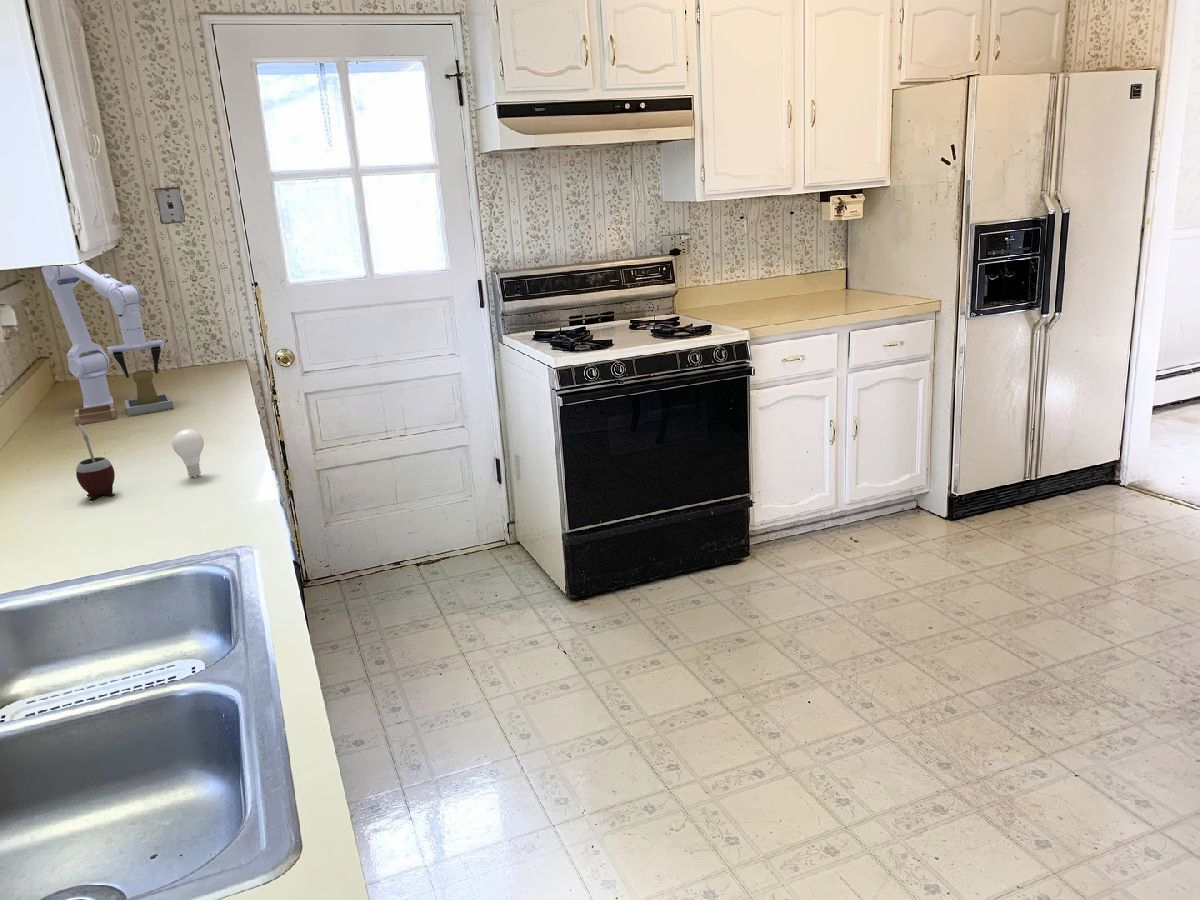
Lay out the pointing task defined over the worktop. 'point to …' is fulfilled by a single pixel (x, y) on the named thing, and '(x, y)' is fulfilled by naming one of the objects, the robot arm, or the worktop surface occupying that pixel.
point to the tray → (148, 405)
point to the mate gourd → (95, 474)
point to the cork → (145, 387)
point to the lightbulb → (189, 449)
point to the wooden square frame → (95, 414)
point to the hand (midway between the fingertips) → (142, 375)
